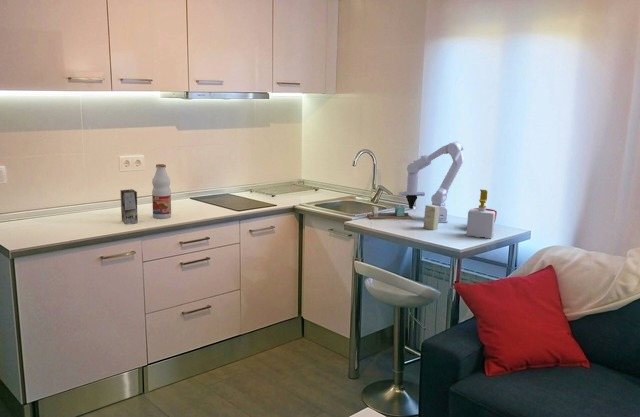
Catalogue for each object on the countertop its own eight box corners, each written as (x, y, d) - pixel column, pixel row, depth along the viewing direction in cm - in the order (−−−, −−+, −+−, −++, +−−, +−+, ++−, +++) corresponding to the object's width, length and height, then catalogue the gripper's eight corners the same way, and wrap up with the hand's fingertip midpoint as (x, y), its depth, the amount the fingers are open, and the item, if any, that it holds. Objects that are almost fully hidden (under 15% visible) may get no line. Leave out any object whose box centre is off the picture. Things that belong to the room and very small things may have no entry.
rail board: (412, 219, 324) (412, 208, 323) (370, 219, 320) (370, 208, 318) (407, 215, 332) (407, 205, 331) (366, 216, 328) (366, 205, 327)
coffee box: (138, 223, 295) (137, 191, 291) (125, 224, 291) (123, 192, 288) (134, 219, 302) (133, 188, 299) (121, 220, 299) (120, 189, 296)
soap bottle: (466, 236, 288) (469, 189, 283) (468, 233, 294) (472, 187, 289) (491, 239, 283) (495, 191, 278) (493, 236, 289) (497, 189, 284)
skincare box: (423, 228, 302) (424, 205, 300) (428, 227, 305) (429, 204, 303) (433, 230, 298) (435, 207, 295) (438, 229, 301) (440, 206, 298)
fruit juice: (174, 216, 312) (173, 164, 307) (163, 219, 304) (162, 166, 299) (160, 214, 316) (159, 163, 311) (149, 217, 308) (147, 164, 302)
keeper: (404, 216, 325) (404, 207, 324) (397, 216, 324) (397, 207, 323) (401, 214, 330) (401, 205, 329) (394, 214, 329) (395, 206, 328)
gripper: (422, 183, 330) (420, 207, 332) (397, 183, 327) (396, 207, 330) (426, 185, 323) (425, 209, 326) (401, 185, 320) (400, 209, 323)
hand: (410, 208), depth 327 cm, fingers closed
